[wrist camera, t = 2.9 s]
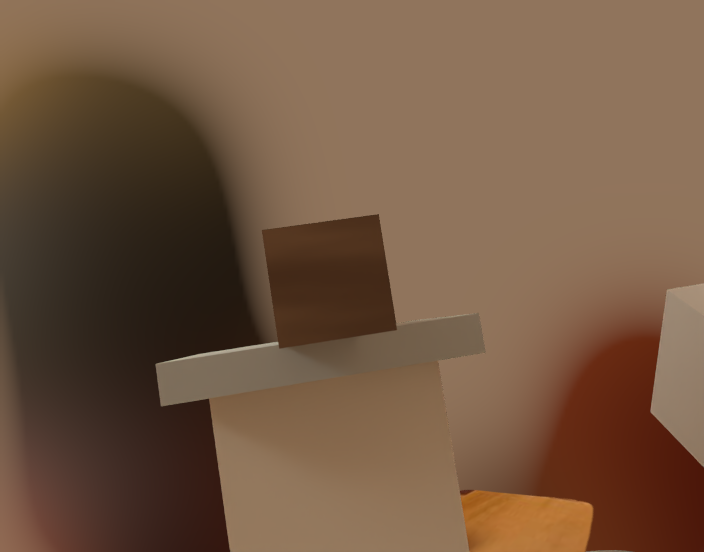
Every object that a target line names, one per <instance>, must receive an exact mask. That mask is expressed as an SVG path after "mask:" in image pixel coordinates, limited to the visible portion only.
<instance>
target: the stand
mask: <svg viewBox="0 0 704 552" xmlns="http://www.w3.org/2000/svg"><path fill="white" fill-rule="evenodd" d="M396 326H397V330H395V331H388V332H382V333H376V334H369V335H363V336H357V337H350V338H344V339H338V340H331V341H325V342H319V343H312V344H306V345H300V346H293V347H287V348H281V349H279V344H278V342H274V343H267V344H262V345H255V346H248V347H242V348H236V349H230V350H223V351H217V352H210V353H204V354H198V355H194V356H189V357H185V358H180V359H176V360H172V361H167V362H163V363H158V364H156V371H157V378H158V386H159V393H160V401H161V406H165V405H171V404H177V403H183V402H189V401H195V400H202V399H208V398H209V400H210V407H211V415H212V422H213V429H214V436H215V444H216V451H217V459H218V465H219V473H220V480H221V488H222V494H223V502H224V510H225V517H226V524H227V532H228V538H229V546H230V552H469V546H468V540H467V534H466V528H465V522H464V516H463V509H462V503H461V497H460V491H459V485H458V479H457V473H456V467H455V461H454V455H453V449H452V442H451V437H450V431H449V424H448V418H447V412H446V406H445V400H444V394H443V388H442V382H441V376H440V370H439V363H438V360H444V359H450V358H456V357H462V356H468V355H474V354H480V353H485V347H484V342H483V335H482V329H481V324H480V317H479V313H477V314H468V315H459V316H450V317H441V318H432V319H423V320H415V321H408V322H401V323H396Z"/></svg>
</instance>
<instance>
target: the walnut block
mask: <svg viewBox="0 0 704 552" xmlns="http://www.w3.org/2000/svg"><path fill="white" fill-rule="evenodd" d="M262 234H263V240H264V248H265V254H266V261H267V268H268V275H269V281H270V288H271V296H272V303H273V309H274V316H275V322H276V329H277V337H278V344H279V349H281V348H287V347H293V346H300V345H306V344H312V343H319V342H325V341H331V340H338V339H344V338H350V337H357V336H363V335H369V334H376V333H382V332H388V331H395V330H397V326H396V320H395V314H394V307H393V302H392V296H391V289H390V282H389V276H388V270H387V264H386V258H385V251H384V245H383V239H382V233H381V227H380V220H379V214H378V215H370V216H363V217H355V218H348V219H341V220H333V221H326V222H319V223H312V224H304V225H297V226H290V227H282V228H275V229H267V230H262Z"/></svg>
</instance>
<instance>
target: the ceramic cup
mask: <svg viewBox="0 0 704 552" xmlns="http://www.w3.org/2000/svg"><path fill="white" fill-rule="evenodd" d="M589 552H631V551H618V550H600V551H589Z"/></svg>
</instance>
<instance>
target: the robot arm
mask: <svg viewBox="0 0 704 552" xmlns="http://www.w3.org/2000/svg"><path fill="white" fill-rule="evenodd" d="M651 413H652V414H653V415H654V416H655V417H656V418H657V419H658V420H659V421H660V422H661V423H662V424H663V425H664V426H665V427H666V428H667V429H668V430H669V431H670V432H671V433H672V435H674V437H675V438H676V439H677V440H678V441H679V442H680V443H681V444H682V445H683V446H684V447H685V448H686V449H687V450H688V451H689V452H690V453H691V454H692V455H693V456H694V457H695V458H696V460H697V461H698V462H699V463H700V464H701V465H702V466H703V467H704V284H698V285H692V286H687V287H680V288H674V289H668V290H667V293H666V301H665V308H664V316H663V323H662V330H661V339H660V345H659V353H658V360H657V367H656V376H655V383H654V390H653V397H652V405H651Z"/></svg>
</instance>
